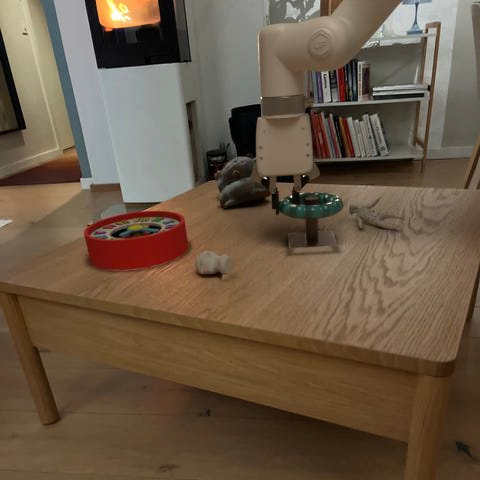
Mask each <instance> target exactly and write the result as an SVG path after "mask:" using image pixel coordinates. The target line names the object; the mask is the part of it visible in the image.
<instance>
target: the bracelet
mask: <svg viewBox="0 0 480 480" xmlns="http://www.w3.org/2000/svg"><path fill="white" fill-rule="evenodd" d="M306 197H318V205H306V206H305V198H306ZM344 206H345V204H344V202H343V199H342V198H341V197H340V196H339V195H336V194H333V193H329V192H322V191H321V192H319V191H310V192H300V205H295V204H292V194H289V195H287V196H285V197H283V198H281V199H279V213H280V214H281V215H283V216H286V217H289V218H292V219H299V220H305V219H318V220H320V219H325V218H328V217H329V218H330V217H333V216H336V215H337V214H339V213H340V212H341V211H343V210H344Z"/></svg>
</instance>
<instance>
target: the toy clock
mask: <svg viewBox="0 0 480 480" xmlns="http://www.w3.org/2000/svg"><path fill="white" fill-rule="evenodd" d="M83 236H84V239H85V244H86V249H87V253H88V257H89V261H90V263H91V265H92V266H93V267H96V268H97V269H101V270H105V271H113V272H114V271H115V272H116V271H117V272H122V271H123V272H125V271H138V270H144V269H149V268H153V267H158V266H162V265H165V264H167V263H171V262H173V261H175V260H177V259H179V258H181V257H183V256H184V255H185V254H186V253H187V252H188V250H189V240H188V233H187V226H186V220H185V216H184V215H182V214H180V213H178V212H175V211H170V210H144V211H143V210H142V211H134V212H126V213H122V214H117V215H114V216H113V215H112V216H109V217H106V218H102V219H100V220H98V221H94V222H93V223H91V224H89V225H88V226H86V227H85V229H84V231H83Z"/></svg>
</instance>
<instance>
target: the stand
mask: <svg viewBox="0 0 480 480" xmlns="http://www.w3.org/2000/svg"><path fill="white" fill-rule="evenodd" d="M306 205H318V197H306V198H305V206H306ZM304 220H305V232H303V231H302V232H288V233H287V236H288V238H287V240H288V248H289V249H300V248H318V247H319V248H320V247H337V246H338V242H337V239H336V237H335V234H334V231H333V230H322V231H319V219H304Z"/></svg>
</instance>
